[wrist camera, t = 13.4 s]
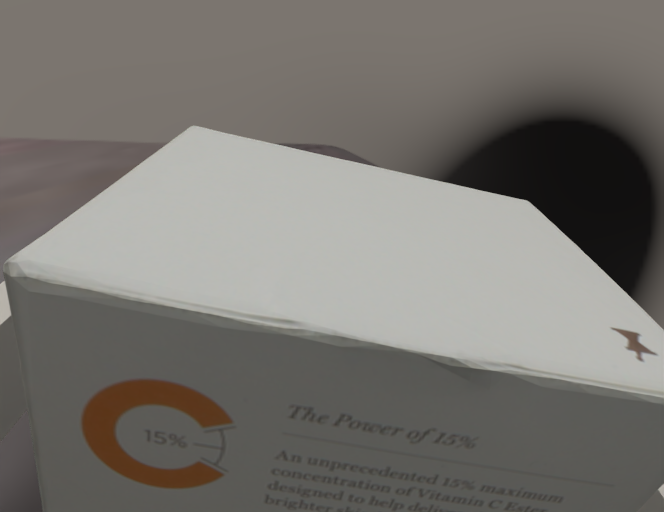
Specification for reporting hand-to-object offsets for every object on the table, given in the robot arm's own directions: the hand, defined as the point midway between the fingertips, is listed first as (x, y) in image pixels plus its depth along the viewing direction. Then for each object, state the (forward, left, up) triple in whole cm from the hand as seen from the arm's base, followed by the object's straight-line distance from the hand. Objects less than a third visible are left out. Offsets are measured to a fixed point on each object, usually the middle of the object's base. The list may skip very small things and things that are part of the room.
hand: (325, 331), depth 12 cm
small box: (+1, +3, -8) cm, 9 cm away
